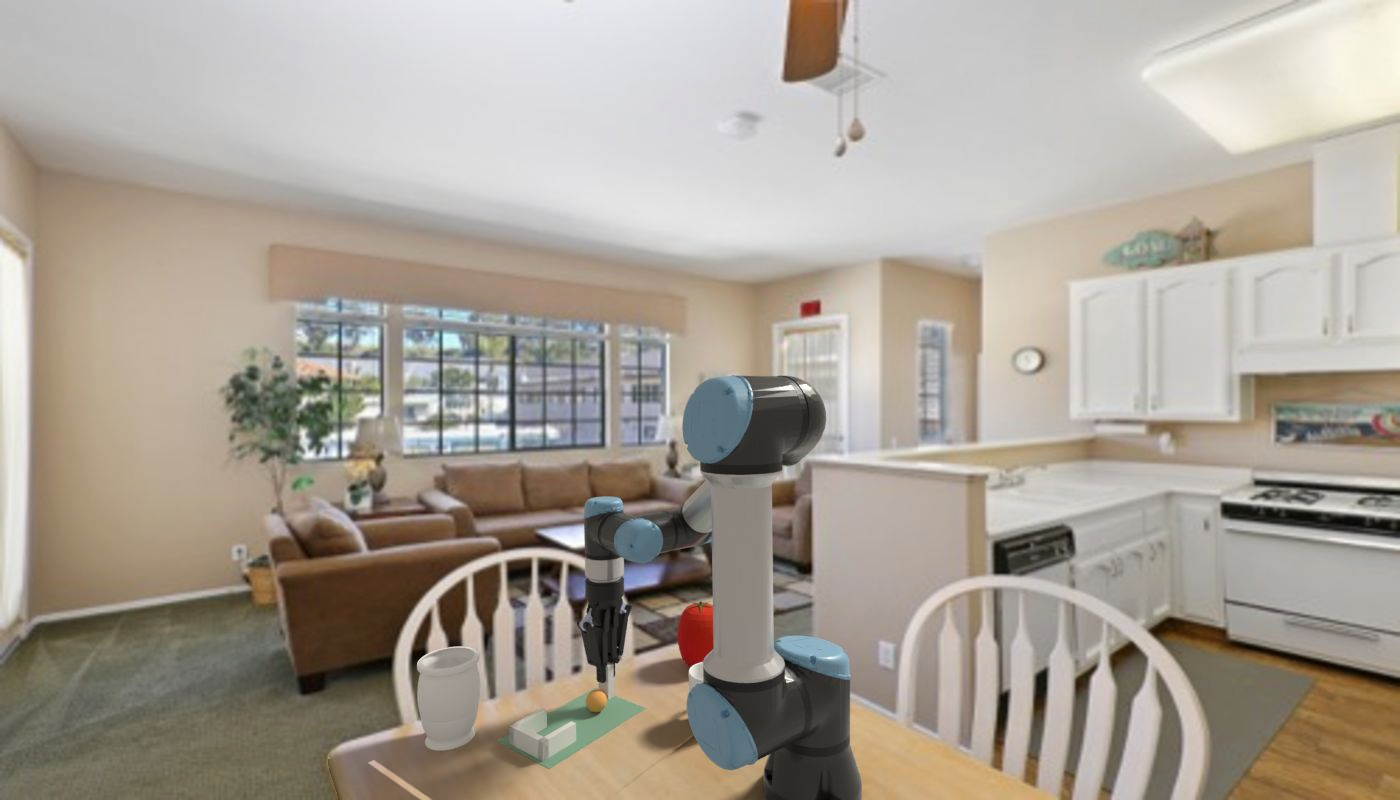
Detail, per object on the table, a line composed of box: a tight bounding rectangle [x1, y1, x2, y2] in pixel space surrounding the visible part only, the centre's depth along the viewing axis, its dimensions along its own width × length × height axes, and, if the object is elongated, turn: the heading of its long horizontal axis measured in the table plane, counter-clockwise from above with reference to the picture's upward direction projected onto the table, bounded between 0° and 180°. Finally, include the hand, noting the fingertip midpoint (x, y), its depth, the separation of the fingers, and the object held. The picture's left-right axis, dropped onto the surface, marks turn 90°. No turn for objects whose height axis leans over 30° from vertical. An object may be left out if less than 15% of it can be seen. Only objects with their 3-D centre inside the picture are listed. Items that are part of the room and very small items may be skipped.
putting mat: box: [496, 687, 647, 770], centre depth 119 cm, size 14×24×1 cm, turn 144°
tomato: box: [676, 601, 714, 668], centre depth 145 cm, size 13×11×14 cm
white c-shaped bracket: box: [508, 707, 576, 761], centre depth 113 cm, size 9×7×3 cm
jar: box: [416, 645, 481, 751], centre depth 115 cm, size 11×10×15 cm
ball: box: [586, 690, 607, 712], centre depth 123 cm, size 4×4×4 cm
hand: (606, 696), depth 126 cm, fingers closed
